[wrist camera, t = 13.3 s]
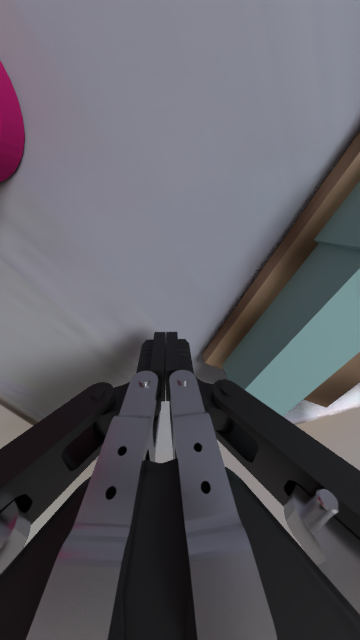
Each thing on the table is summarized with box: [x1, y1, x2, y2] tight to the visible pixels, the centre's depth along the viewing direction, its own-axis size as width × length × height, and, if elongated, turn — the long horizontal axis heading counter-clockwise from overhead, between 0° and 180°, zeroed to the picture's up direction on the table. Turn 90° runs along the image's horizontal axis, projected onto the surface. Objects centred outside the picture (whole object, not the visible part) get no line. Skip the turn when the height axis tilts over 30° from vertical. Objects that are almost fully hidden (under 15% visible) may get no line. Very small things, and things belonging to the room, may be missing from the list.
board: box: [203, 131, 360, 407], centre depth 14 cm, size 19×15×1 cm
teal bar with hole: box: [222, 181, 360, 416], centre depth 12 cm, size 16×5×4 cm, turn 153°
